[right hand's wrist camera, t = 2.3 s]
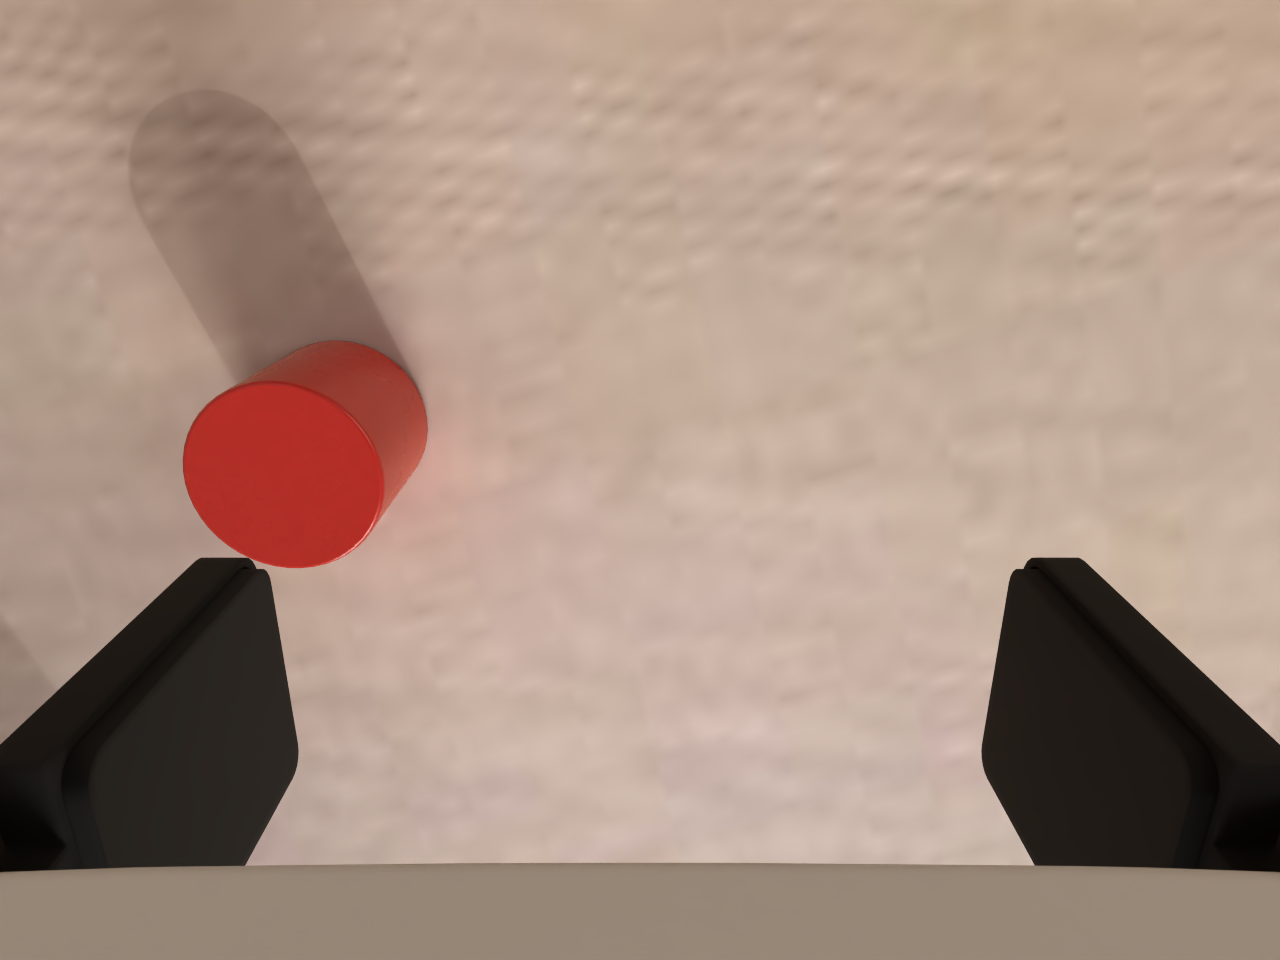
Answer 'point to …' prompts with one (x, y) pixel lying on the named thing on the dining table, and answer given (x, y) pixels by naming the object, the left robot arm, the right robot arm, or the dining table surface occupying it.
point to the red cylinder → (305, 454)
